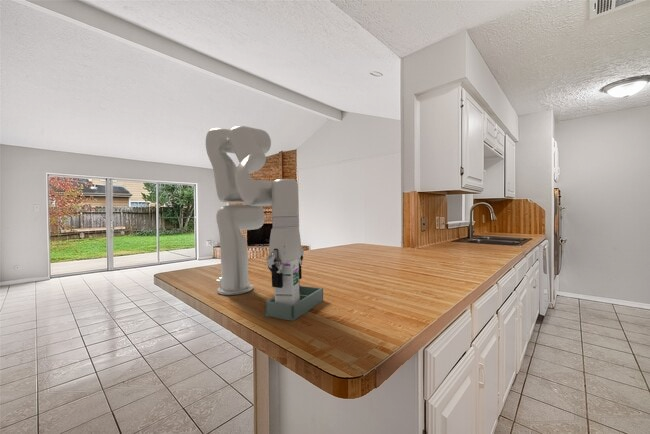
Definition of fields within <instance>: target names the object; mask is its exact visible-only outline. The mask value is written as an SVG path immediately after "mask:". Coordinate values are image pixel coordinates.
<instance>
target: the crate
mask: <svg viewBox="0 0 650 434" xmlns="http://www.w3.org/2000/svg"><path fill="white" fill-rule="evenodd" d="M323 301H324V288H323V287H318V286H317V287H316V286H315V287H314V286H307V285H300V301H298V302H296V303H295V304H293V305H289V304H283V303H276V302H275V296H273V297H272V298H270V299H267V300H265V302H264V310H265V315H264V316H265V317H270V318H275V319H281V320H287V321H292V322H294V321H296V319H299V318H300V317H301V316H304V314H306V313H307V312H309V311H310V310H312V309H313V308H314V307H316V306H318V305H319V304H320V303H322V302H323Z"/></svg>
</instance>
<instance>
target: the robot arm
mask: <svg viewBox="0 0 650 434" xmlns="http://www.w3.org/2000/svg"><path fill="white" fill-rule="evenodd" d="M271 146H272V139H271V137H270V135H269V133H268V132H267V131H265V130H264V129H262V128H254V127H252V126H251V127H250V126H245V125H237V126H234V127H232V128H231V129H229V128H223V127H215V128H210V130H208V131H207V132H206V135H205V151H206V154H207V157H208V160H209V161H210V164H211V167H212V170H213V177H214V178H213V179H214V184H215V189H216V190H215V191H216V195H217V198H218V200H219V201H220V202H222V203H227V204H228V203H229V204H230V203H231V204H230V205H224V206H222V207H220V208H219V209H218V210H217V212H216V216H215V217H216V223H217V228H218V233H219V234H218V235H219V246H220V249H219V250H220V272H221V274H220V275H221V276H220V277H218V278H217V279H216V280H215V283H216V284H219V287H218V288H217V294H219V295H222V296H224V295H225V296H232V295H233V296H235V295H242V294H246V293H248V292H251V291H252V290H253V289H254V285H253V284H251V283H250V282H249V260H248V259H249V258H248V257H249V256H248V255H249V253H248V242H247V239H246V237H245V236H244V234H243V233H242V231H251V230H259V229H260V228H262V226H264V223H265V213H264V207H271V217H272V219H271V220H272V228H271V229H270V236H269V248H268V249H269V250H268V251H269V252H268V253H269V255H268V256H267V257H266V259H265V261H266V264H267V268H268V269H269V272H270V273H271V287H272V288H274V287H277V288H282V287H283V274H282V273H281V270H282V268H283V265H286V264H288V262H289V261H292V260H296V259H297V260H299V280H301V279H302V277H303V276H302V275H303V274H302V266H303V259H304V252H305V249H304V248H303V247H302V241H301V232H300V209H299V208H300V206H299V185H298V181H296V179H292V178H279V179H275V180H274V179H273V180H272V181H271V180H260V179H259V180H258V179H253V178H252V176H251V174H252V173H254V172H255V173H256V172H257V171H259V170H261V169H262V168H263V167H264V166H265V164H266V162H267V157H266V154H267V153H269V151H270V149H271ZM228 153H229V154H234V155H235V156H236V158H237V160H238V162H239V164H238V165H236V163H235V162H234V160H233V159H232V158H231V156H229V155H228ZM279 261H280V262H279ZM277 265H279V266H278V268H277Z"/></svg>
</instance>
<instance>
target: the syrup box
mask: <svg viewBox="0 0 650 434" xmlns="http://www.w3.org/2000/svg"><path fill="white" fill-rule="evenodd" d="M279 262H280V261H279ZM278 266H279V265H277V268H278ZM281 273H282V274H283V287H282V288H277V287H273V288H274V289H273V291H274V297H275V302H276V303H283V304H289V305H293V304H295V303H296V302H298V301H300V286H301V285H300V283H301V282H300V279H299V260H297V259H296V260H292V261H289V262H288V264H286V265H283V268H282V270H281Z"/></svg>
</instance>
